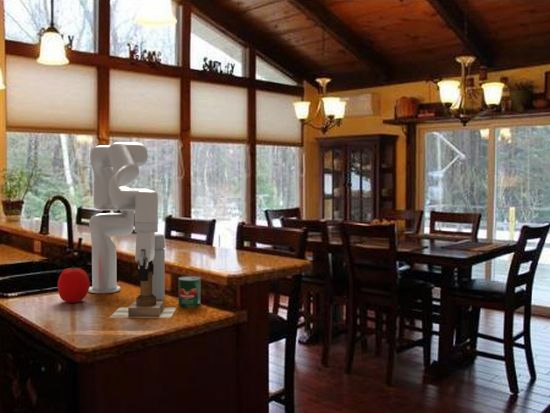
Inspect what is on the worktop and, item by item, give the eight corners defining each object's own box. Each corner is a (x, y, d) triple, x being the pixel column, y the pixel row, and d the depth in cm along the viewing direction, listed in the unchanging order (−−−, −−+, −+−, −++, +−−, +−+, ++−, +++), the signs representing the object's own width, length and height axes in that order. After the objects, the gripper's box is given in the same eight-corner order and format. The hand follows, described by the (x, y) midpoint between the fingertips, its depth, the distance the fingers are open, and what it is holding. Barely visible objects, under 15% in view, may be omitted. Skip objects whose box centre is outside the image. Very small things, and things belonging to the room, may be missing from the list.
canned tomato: (180, 311, 197) (180, 280, 196) (176, 306, 204) (176, 276, 204) (203, 309, 200) (203, 279, 199) (197, 304, 207) (197, 275, 207)
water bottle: (169, 300, 214) (169, 235, 212) (152, 304, 208) (152, 236, 206) (154, 296, 220) (154, 233, 218) (137, 300, 214) (137, 234, 212)
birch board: (119, 310, 197) (119, 307, 197) (176, 310, 198) (176, 307, 198) (109, 321, 183) (109, 317, 183) (170, 321, 184) (170, 317, 184)
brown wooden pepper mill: (146, 307, 185) (147, 253, 184) (132, 304, 188) (132, 251, 187) (160, 303, 191) (160, 250, 190) (145, 301, 194) (145, 249, 193)
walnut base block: (134, 309, 195) (134, 300, 194) (163, 309, 195) (163, 301, 195) (128, 316, 185) (128, 307, 184) (158, 317, 185) (158, 307, 185)
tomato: (49, 303, 207) (48, 267, 206) (74, 297, 218) (74, 263, 217) (72, 307, 202) (72, 270, 201) (97, 300, 213) (97, 265, 212)
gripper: (140, 224, 197) (140, 272, 198) (129, 230, 179) (128, 283, 181) (161, 224, 197) (161, 273, 198) (152, 230, 180) (152, 283, 181)
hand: (146, 277), depth 189 cm, fingers open, 9 cm apart
